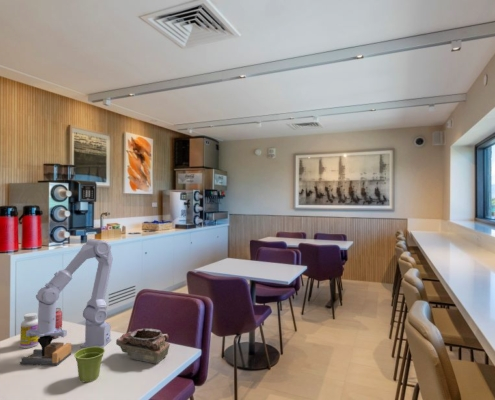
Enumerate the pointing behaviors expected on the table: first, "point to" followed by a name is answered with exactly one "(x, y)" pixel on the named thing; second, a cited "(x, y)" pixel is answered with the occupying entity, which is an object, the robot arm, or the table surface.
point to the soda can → (58, 320)
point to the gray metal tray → (40, 359)
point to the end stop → (61, 353)
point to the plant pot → (89, 363)
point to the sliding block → (52, 348)
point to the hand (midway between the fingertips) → (46, 355)
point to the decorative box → (144, 345)
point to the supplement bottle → (26, 325)
